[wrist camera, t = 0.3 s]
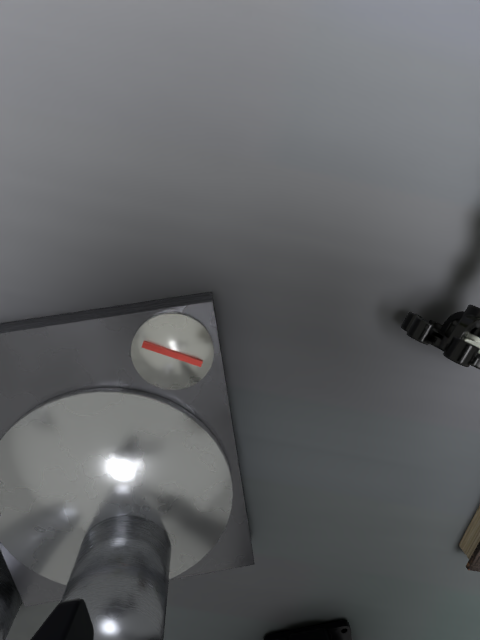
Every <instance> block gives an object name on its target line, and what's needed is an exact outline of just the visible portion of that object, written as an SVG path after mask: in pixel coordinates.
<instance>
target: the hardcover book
mask: <svg viewBox="0 0 480 640" xmlns="http://www.w3.org/2000/svg"><path fill="white" fill-rule="evenodd" d="M459 546H460V548H461V549H462V550H463V552H464V553H465V554H466V555H467V557H468V558H469V561H468V563H467V565H466V568H467V569H468V570H472V571H479V572H480V506H479V508H478V510H477V511H476V513H475V515H474V517H473V519H472V521H471V523H470V525H469V526H468V528H467V530H466V532H465V534H464V536H463V538H462V540H461V541H460V543H459Z"/></svg>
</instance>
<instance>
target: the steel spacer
mask: <svg viewBox="0 0 480 640" xmlns="http://www.w3.org/2000/svg"><path fill="white" fill-rule="evenodd" d="M21 603H22V599H21V596H20V594H19V592H18V589H17V587H16V585H15V582H14V580H13V578H12V575H11V573H10V571H9V569H8V566H7V564H6V562H5V559H4V557H3V555H2V552H1V550H0V640H5V639H6V637H7V635H8V632H9V630H10V628H11V626H12V623H13V621H14V619H15V617H16V615H17V612H18V610H19V608H20V606H21Z"/></svg>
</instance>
